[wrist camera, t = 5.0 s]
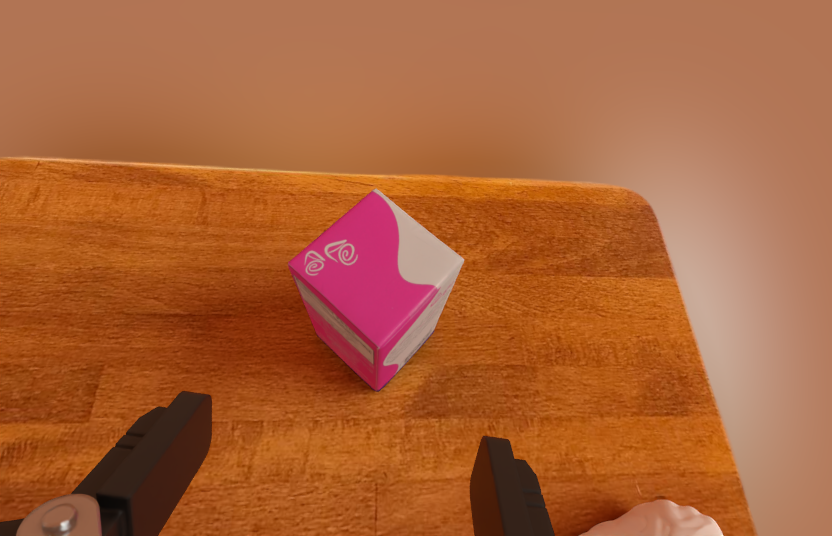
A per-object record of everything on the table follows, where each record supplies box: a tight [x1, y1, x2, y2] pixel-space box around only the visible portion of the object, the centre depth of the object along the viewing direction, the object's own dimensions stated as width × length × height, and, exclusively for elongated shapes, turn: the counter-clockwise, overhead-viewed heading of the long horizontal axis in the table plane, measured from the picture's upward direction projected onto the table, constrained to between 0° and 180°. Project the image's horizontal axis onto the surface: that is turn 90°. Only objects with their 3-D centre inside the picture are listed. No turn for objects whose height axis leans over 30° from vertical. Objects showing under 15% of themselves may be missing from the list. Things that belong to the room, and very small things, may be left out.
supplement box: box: [288, 189, 464, 392], centre depth 24 cm, size 6×6×12 cm
